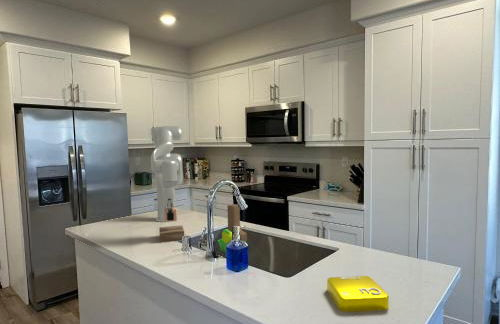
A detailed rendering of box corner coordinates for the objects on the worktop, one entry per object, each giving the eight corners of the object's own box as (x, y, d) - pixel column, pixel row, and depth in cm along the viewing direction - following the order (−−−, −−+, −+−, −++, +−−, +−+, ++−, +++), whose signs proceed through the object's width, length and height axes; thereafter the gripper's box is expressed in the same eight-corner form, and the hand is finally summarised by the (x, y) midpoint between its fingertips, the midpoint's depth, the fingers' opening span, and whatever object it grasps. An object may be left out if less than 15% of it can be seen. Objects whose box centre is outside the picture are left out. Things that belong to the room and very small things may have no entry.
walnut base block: (159, 236, 170) (159, 227, 170) (182, 234, 174) (182, 225, 174) (160, 243, 159) (159, 233, 159) (184, 240, 162) (184, 231, 162)
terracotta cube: (165, 219, 168) (165, 207, 168) (177, 218, 169) (176, 207, 169) (164, 221, 162) (164, 210, 162) (176, 221, 163) (176, 209, 163)
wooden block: (247, 241, 158) (246, 205, 157) (241, 244, 155) (240, 207, 153) (234, 238, 164) (233, 203, 163) (227, 240, 160) (227, 205, 159)
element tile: (369, 287, 108) (369, 273, 107) (391, 311, 93) (391, 295, 92) (325, 289, 107) (325, 275, 107) (340, 313, 92) (340, 297, 92)
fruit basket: (246, 252, 143) (246, 227, 142) (232, 258, 136) (231, 232, 136) (229, 247, 151) (228, 223, 150) (215, 252, 144) (214, 227, 143)
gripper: (163, 182, 172) (165, 215, 174) (160, 186, 155) (161, 223, 157) (178, 182, 174) (179, 214, 175) (176, 186, 157) (177, 222, 158)
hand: (171, 218), depth 166 cm, fingers closed on terracotta cube, 6 cm apart
